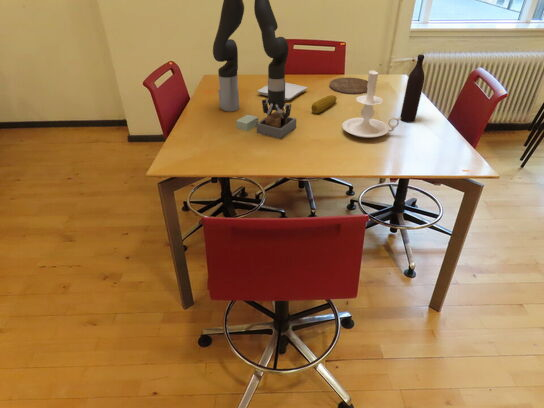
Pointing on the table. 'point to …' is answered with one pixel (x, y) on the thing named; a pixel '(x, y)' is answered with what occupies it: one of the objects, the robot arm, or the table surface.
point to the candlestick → (368, 114)
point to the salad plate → (286, 90)
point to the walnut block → (274, 120)
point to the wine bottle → (413, 92)
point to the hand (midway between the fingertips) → (276, 123)
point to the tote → (274, 131)
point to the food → (323, 104)
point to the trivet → (349, 85)
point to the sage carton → (247, 122)
